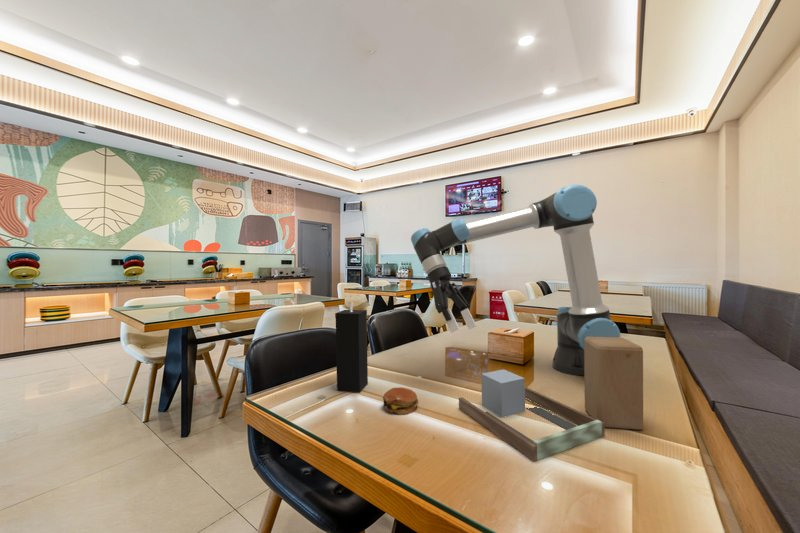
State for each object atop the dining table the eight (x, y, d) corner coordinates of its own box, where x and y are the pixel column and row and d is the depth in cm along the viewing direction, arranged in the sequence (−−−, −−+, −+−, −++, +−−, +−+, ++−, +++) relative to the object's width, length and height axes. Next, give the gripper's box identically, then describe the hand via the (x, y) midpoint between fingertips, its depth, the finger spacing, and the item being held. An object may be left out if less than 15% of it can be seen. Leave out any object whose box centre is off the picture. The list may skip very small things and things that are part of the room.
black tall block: (336, 391, 102) (334, 302, 102) (346, 381, 110) (344, 299, 109) (359, 393, 100) (358, 303, 100) (368, 383, 108) (366, 300, 108)
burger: (412, 398, 96) (412, 383, 96) (422, 412, 87) (422, 395, 87) (379, 402, 94) (379, 386, 93) (386, 418, 85) (386, 400, 84)
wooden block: (645, 431, 75) (645, 346, 75) (598, 428, 77) (597, 345, 77) (624, 412, 85) (624, 336, 85) (583, 409, 87) (582, 335, 87)
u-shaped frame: (519, 394, 98) (519, 382, 98) (604, 435, 74) (604, 420, 74) (458, 408, 89) (458, 396, 89) (533, 461, 65) (533, 444, 65)
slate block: (504, 400, 94) (503, 369, 94) (525, 411, 87) (524, 378, 86) (481, 405, 91) (481, 373, 90) (501, 417, 83) (501, 383, 83)
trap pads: (527, 401, 92) (527, 401, 92) (578, 427, 78) (578, 426, 78) (476, 415, 85) (476, 414, 85) (522, 446, 70) (522, 445, 70)
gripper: (444, 278, 121) (470, 331, 113) (408, 273, 100) (436, 337, 93) (461, 268, 117) (488, 322, 110) (426, 261, 97) (457, 326, 89)
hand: (464, 329), depth 101 cm, fingers open, 13 cm apart
